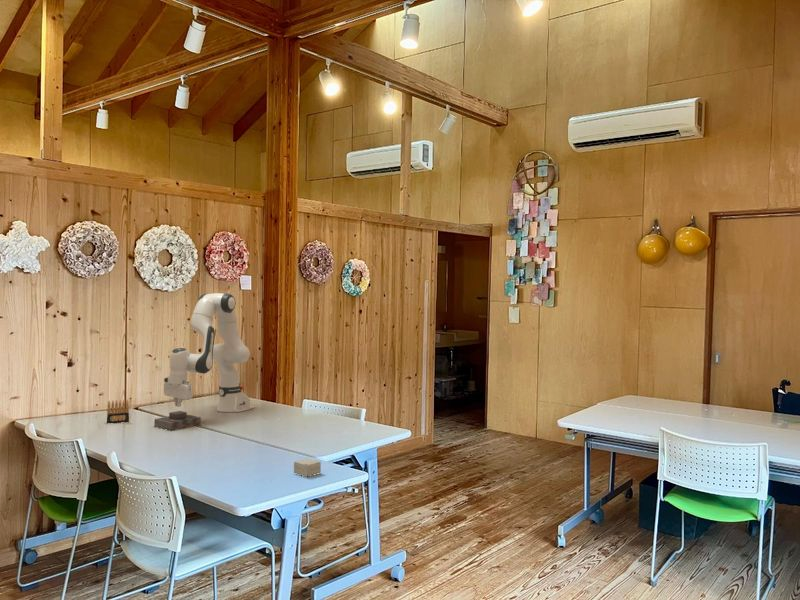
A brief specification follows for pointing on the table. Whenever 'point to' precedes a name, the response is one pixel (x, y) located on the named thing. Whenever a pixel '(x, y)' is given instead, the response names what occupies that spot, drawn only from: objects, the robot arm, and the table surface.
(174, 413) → the plug
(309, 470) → the small box
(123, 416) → the ammunition clip
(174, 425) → the socket board
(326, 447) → the table surface
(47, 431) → the table surface
